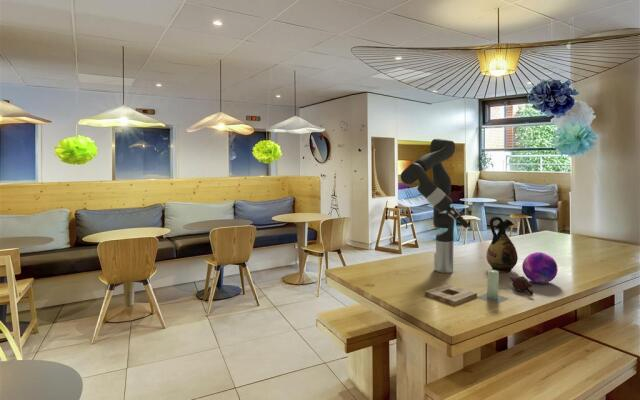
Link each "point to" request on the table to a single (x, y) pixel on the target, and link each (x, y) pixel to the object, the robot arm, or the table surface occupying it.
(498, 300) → the mat
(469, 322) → the table surface
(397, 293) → the table surface
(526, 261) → the decorative orb
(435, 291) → the pocket block
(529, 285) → the icecream
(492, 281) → the ball
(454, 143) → the robot arm
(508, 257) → the ceramic jug
